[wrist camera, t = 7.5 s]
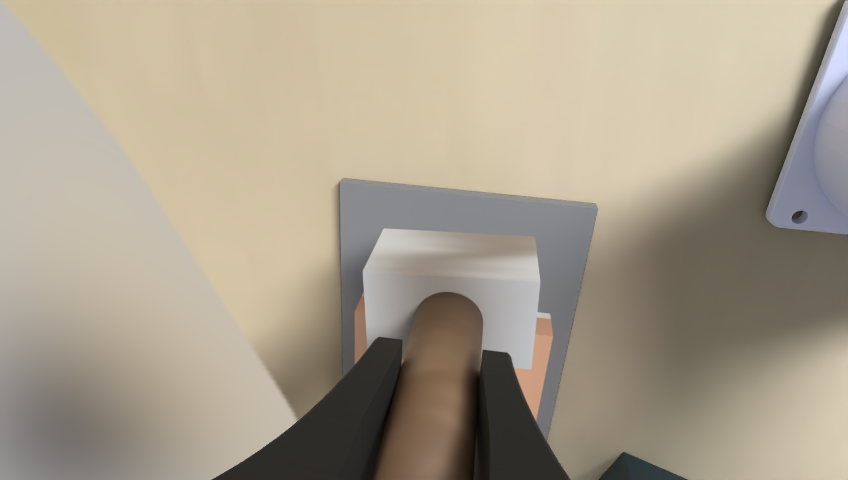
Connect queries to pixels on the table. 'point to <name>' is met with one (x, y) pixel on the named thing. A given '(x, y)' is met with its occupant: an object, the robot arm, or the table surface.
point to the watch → (636, 470)
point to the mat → (471, 213)
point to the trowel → (446, 338)
